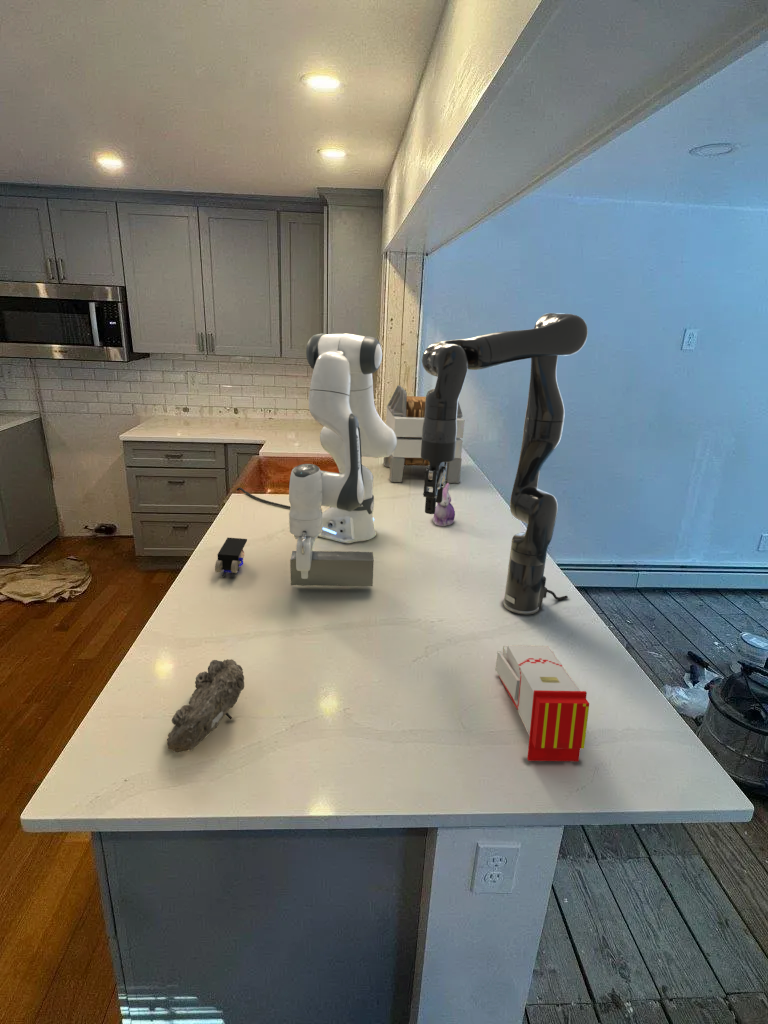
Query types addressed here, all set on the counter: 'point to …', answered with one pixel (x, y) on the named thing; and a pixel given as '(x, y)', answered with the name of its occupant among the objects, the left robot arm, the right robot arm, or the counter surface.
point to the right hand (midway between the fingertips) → (433, 507)
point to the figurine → (444, 509)
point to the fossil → (206, 705)
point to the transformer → (415, 436)
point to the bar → (335, 569)
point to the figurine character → (230, 556)
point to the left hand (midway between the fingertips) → (305, 571)
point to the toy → (545, 701)
